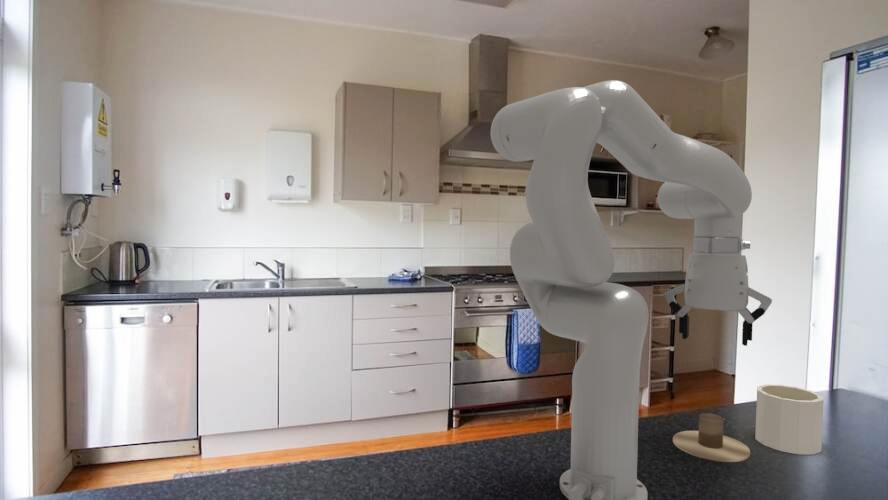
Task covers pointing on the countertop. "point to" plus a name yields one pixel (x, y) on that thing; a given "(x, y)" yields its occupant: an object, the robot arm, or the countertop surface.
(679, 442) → the lid
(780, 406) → the pot
